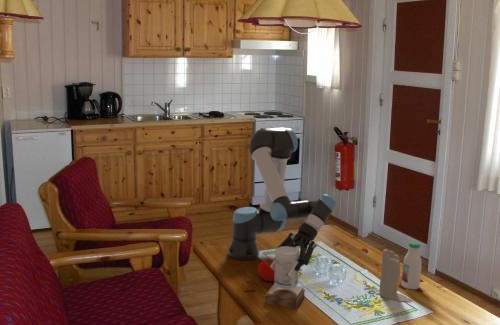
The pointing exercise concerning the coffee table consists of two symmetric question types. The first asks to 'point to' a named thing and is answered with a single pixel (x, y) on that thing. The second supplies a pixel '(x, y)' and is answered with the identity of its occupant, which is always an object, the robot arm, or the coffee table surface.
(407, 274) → the milk bottle
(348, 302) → the coffee table surface
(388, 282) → the beige bookend
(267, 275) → the tomato
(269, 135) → the robot arm
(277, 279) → the supplement tub
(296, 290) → the plinth
